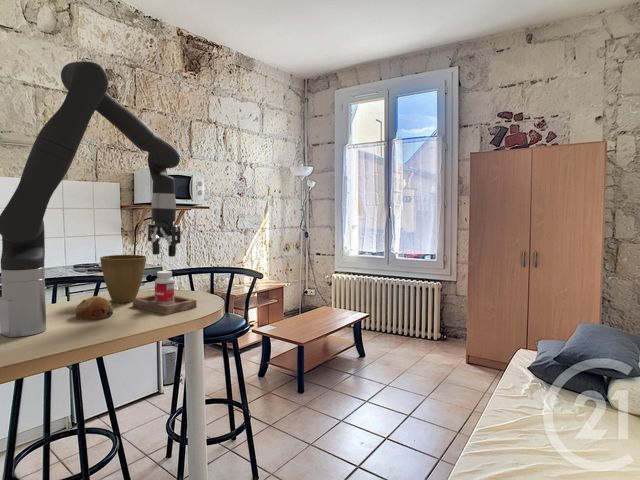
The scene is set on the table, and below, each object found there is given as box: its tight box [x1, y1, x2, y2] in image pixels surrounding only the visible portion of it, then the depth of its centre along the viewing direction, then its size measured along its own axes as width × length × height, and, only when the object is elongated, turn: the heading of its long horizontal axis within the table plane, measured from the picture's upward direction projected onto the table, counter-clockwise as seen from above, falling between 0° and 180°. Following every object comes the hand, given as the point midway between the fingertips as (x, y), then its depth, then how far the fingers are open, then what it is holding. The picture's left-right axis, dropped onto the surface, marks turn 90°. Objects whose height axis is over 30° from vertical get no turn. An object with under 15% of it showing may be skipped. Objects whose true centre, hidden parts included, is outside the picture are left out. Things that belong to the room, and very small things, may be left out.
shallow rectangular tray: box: [132, 294, 197, 316], centre depth 137 cm, size 12×18×2 cm, turn 57°
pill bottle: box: [154, 270, 175, 305], centre depth 136 cm, size 6×6×11 cm
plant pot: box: [99, 254, 147, 304], centre depth 144 cm, size 15×15×16 cm
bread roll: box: [74, 295, 115, 321], centre depth 124 cm, size 10×10×8 cm
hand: (163, 255), depth 135 cm, fingers open, 8 cm apart
